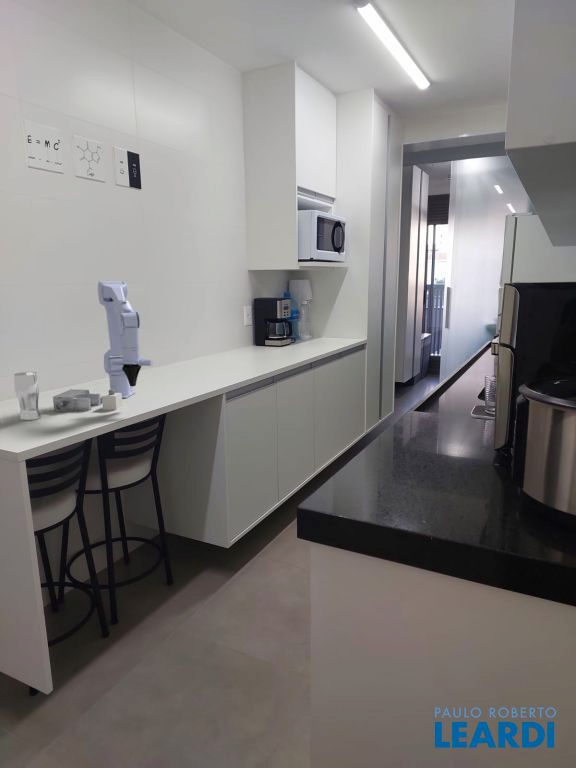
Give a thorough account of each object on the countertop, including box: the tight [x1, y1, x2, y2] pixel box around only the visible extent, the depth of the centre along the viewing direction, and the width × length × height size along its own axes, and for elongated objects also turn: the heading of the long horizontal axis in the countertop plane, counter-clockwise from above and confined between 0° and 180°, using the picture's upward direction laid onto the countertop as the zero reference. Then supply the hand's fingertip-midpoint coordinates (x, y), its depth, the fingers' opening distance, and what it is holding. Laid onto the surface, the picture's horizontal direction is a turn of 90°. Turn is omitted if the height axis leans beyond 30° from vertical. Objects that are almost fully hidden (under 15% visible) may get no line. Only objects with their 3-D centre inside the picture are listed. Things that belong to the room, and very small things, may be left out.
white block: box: [101, 389, 123, 411], centre depth 179 cm, size 5×5×6 cm
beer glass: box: [13, 371, 41, 422], centre depth 165 cm, size 7×7×15 cm
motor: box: [52, 388, 102, 412], centre depth 179 cm, size 15×12×5 cm
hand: (133, 385), depth 178 cm, fingers closed
